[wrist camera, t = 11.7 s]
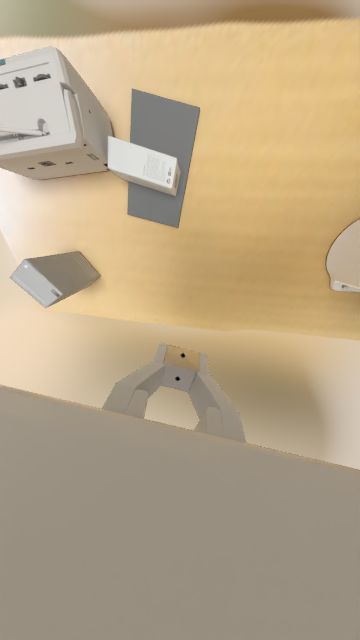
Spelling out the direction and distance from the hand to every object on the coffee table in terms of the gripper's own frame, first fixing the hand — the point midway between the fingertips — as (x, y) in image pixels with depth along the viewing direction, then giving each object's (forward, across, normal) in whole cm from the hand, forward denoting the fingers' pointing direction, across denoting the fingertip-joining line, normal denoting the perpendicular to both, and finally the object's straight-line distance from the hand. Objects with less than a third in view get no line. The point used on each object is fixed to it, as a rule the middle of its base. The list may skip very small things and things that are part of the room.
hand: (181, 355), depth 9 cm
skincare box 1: (+34, +30, +9) cm, 46 cm away
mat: (+34, +12, -16) cm, 40 cm away
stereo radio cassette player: (+34, +31, -15) cm, 48 cm away
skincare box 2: (+31, +7, -14) cm, 35 cm away
